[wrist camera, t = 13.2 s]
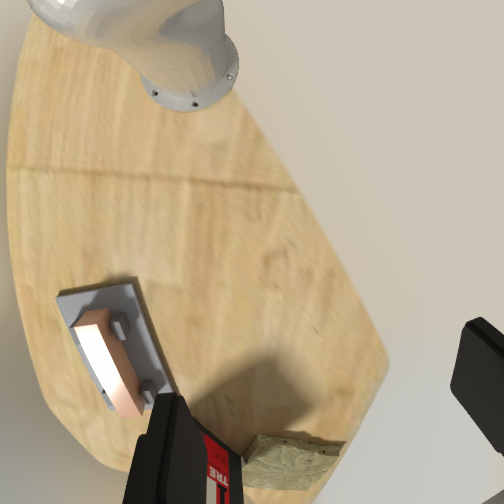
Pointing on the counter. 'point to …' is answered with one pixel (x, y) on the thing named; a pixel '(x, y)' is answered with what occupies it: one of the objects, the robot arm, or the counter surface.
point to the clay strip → (110, 362)
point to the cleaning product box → (221, 471)
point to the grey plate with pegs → (120, 335)
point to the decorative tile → (285, 463)
